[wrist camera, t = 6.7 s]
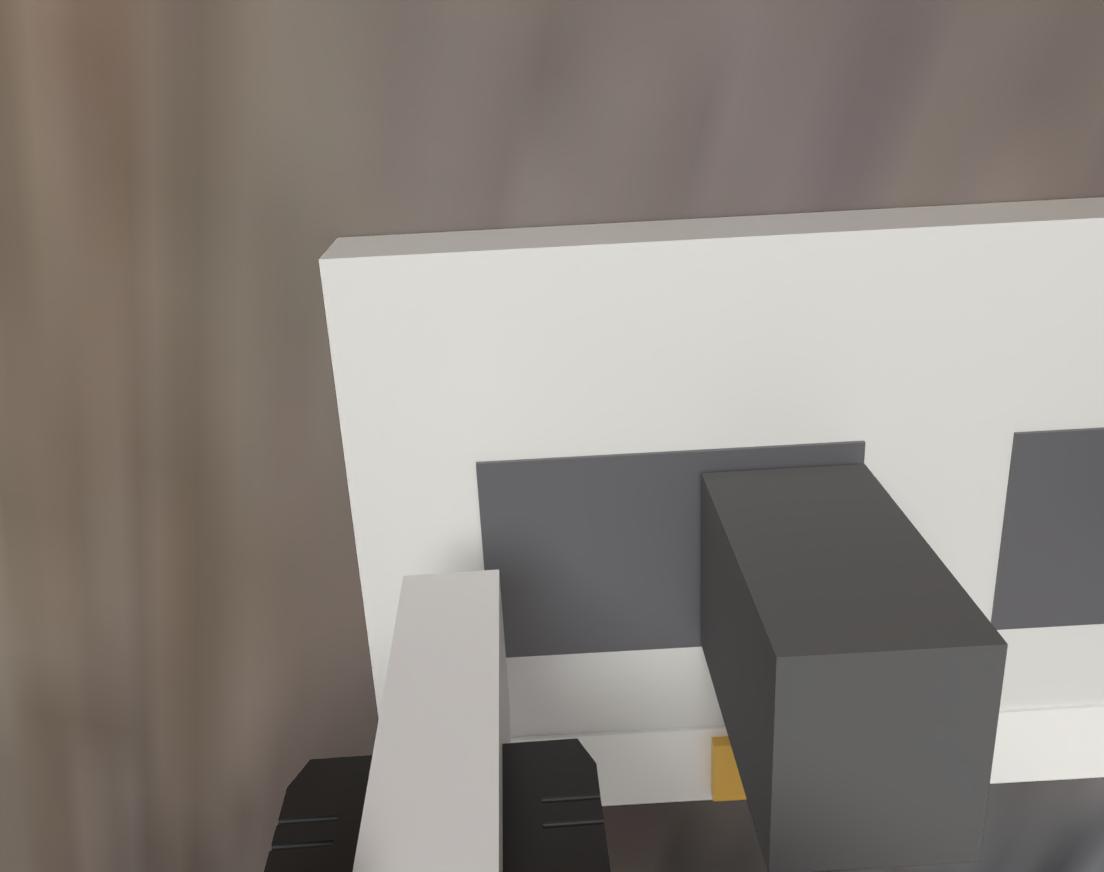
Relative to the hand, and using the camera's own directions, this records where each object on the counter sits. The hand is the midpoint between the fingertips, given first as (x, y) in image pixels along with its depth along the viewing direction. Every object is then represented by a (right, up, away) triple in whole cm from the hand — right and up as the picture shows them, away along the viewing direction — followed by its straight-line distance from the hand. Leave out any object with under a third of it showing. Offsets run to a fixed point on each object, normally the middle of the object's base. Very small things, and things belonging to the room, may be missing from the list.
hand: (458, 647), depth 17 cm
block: (+6, +1, +3) cm, 7 cm away
